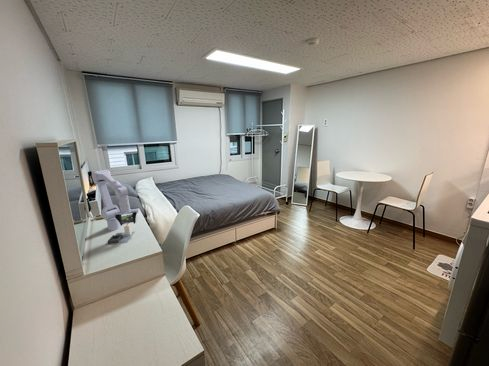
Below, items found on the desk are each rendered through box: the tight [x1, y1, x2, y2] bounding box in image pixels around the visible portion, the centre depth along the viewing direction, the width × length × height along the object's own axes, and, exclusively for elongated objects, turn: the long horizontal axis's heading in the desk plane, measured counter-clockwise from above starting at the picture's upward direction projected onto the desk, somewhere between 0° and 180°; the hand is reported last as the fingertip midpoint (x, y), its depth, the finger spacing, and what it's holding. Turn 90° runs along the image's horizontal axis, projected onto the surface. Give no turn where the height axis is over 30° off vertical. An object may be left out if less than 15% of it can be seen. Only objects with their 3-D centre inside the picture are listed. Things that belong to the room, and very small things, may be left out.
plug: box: [123, 222, 133, 236], centre depth 144 cm, size 4×3×7 cm
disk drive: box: [121, 213, 137, 225], centre depth 168 cm, size 10×3×15 cm
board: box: [106, 231, 136, 245], centre depth 140 cm, size 15×12×2 cm
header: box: [107, 234, 123, 245], centre depth 137 cm, size 7×6×2 cm
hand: (128, 224), depth 140 cm, fingers open, 7 cm apart
